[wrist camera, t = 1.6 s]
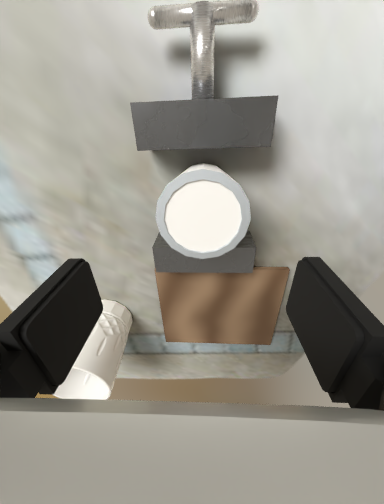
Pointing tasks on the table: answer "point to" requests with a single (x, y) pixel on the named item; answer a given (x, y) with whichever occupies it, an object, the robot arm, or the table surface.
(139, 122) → the vise
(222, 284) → the serving board
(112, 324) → the white cup
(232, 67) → the table surface
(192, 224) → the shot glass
